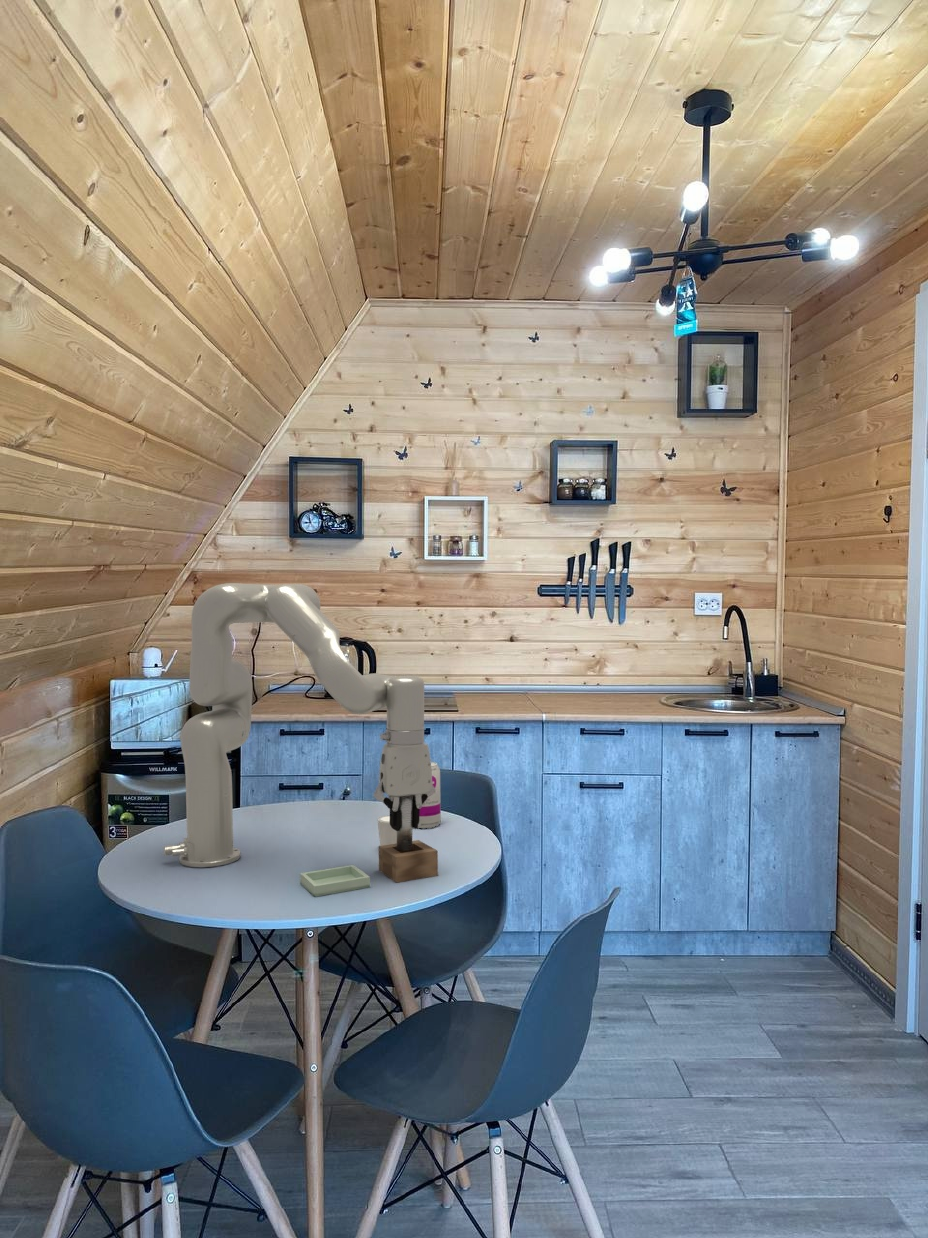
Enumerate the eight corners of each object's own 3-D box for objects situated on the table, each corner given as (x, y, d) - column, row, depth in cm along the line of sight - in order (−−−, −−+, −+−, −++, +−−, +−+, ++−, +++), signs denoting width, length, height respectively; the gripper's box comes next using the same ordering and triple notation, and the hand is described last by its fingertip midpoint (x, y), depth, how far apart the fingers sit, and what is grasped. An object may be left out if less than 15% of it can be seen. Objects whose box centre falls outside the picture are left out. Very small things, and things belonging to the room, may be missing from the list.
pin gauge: (400, 851, 175) (400, 791, 175) (393, 847, 178) (394, 788, 178) (415, 849, 177) (415, 790, 176) (408, 845, 179) (408, 786, 179)
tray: (314, 897, 163) (314, 886, 163) (300, 883, 171) (300, 873, 171) (370, 887, 169) (369, 877, 168) (353, 874, 176) (353, 865, 176)
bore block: (396, 882, 171) (396, 857, 171) (378, 870, 179) (378, 846, 179) (437, 875, 175) (437, 850, 175) (419, 864, 183) (418, 840, 183)
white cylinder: (414, 847, 196) (413, 816, 196) (399, 855, 190) (398, 823, 189) (387, 844, 199) (387, 813, 198) (371, 852, 192) (371, 820, 192)
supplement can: (440, 829, 211) (439, 767, 211) (405, 829, 211) (405, 767, 211) (441, 820, 219) (440, 761, 219) (408, 821, 219) (407, 761, 219)
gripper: (374, 743, 170) (373, 837, 170) (450, 737, 177) (449, 828, 178) (360, 737, 176) (359, 828, 177) (433, 732, 184) (433, 819, 184)
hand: (404, 827), depth 177 cm, fingers closed on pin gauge, 3 cm apart
